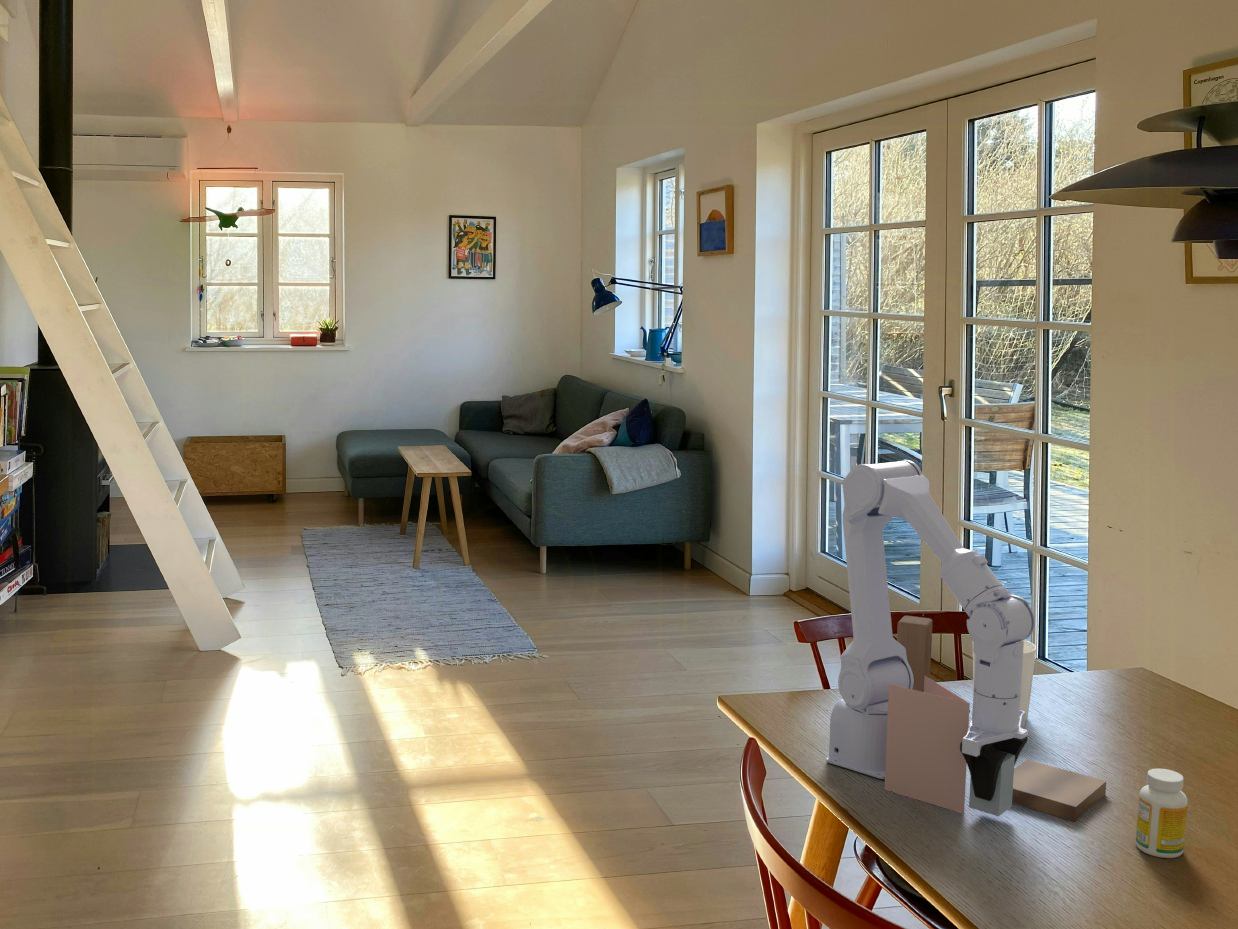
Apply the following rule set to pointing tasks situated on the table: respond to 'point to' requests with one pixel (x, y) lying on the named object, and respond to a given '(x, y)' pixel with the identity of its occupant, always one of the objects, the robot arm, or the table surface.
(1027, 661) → the candle holder
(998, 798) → the slate block
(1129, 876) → the table surface
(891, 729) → the greeting card
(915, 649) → the wooden block
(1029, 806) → the walnut base
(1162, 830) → the supplement bottle
